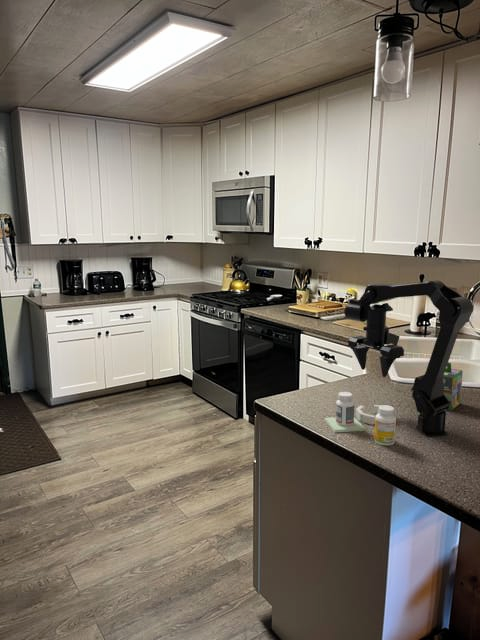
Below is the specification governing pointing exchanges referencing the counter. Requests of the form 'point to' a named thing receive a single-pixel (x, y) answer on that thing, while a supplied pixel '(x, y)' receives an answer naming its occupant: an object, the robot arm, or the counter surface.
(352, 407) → the pill bottle
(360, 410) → the locking ring
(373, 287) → the robot arm
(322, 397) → the counter surface
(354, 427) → the pad
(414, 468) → the counter surface
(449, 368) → the chalk box
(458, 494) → the counter surface
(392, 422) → the supplement bottle
